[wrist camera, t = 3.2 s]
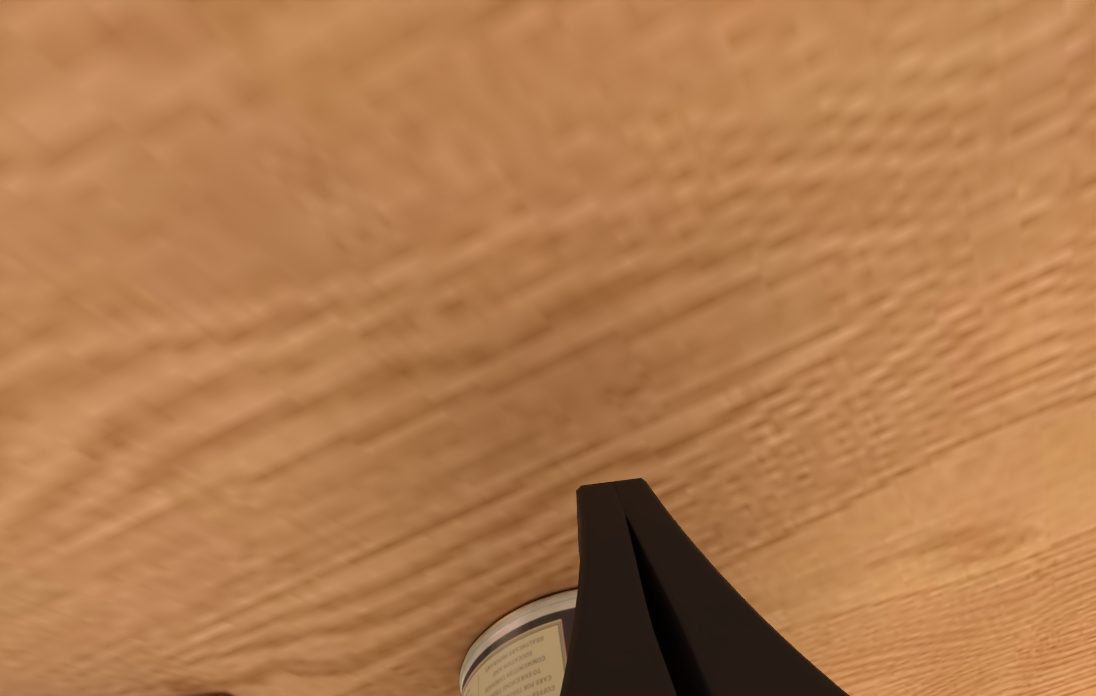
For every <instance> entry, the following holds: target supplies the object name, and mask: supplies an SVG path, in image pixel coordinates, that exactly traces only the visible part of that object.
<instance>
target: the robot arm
mask: <svg viewBox="0 0 1096 696" xmlns="http://www.w3.org/2000/svg"><path fill="white" fill-rule="evenodd" d="M576 495H577V519H578V542H579V555H580V569H579V582H578V591H577V599H576V606H575V613H574V621H573V628H572V634H571V640H570V646H569V652H568V657H567V663H566V668H565V673H564V678H563V683H562V687H561V692H560V696H849V695H848V694H847V693H846V692H844V691H843V690H842V689H841V688H839V687H838V686H837V685H836V684H835V683H834V682H832V681H831V680H830V679H829V678H828V677H827V676H826V675H824V674H823V673H822V672H821V671H820V670H819V669H818V668H816V667H815V666H814V665H813V664H812V663H811V662H810V661H808V660H807V659H806V658H805V657H804V656H803V655H802V654H801V653H800V652H798V651H797V650H796V649H795V648H794V647H793V646H792V645H791V644H790V643H789V642H788V641H786V640H785V639H784V638H783V637H782V636H781V635H780V634H779V633H778V632H777V631H776V630H775V629H774V628H773V627H772V626H771V625H770V624H768V623H767V622H766V621H765V620H764V619H763V618H762V617H761V616H760V615H759V614H758V613H757V612H756V611H755V610H754V609H753V608H752V607H751V606H750V605H749V604H748V602H747V601H746V600H745V599H744V598H743V597H742V596H741V595H740V594H739V593H738V592H737V591H736V590H735V589H734V588H733V587H732V586H731V585H730V584H729V583H728V582H727V580H726V579H725V578H724V577H723V576H722V575H721V574H720V573H719V572H718V571H717V570H716V568H715V567H714V566H713V565H712V564H711V563H710V562H709V560H708V559H707V558H706V557H705V556H704V555H703V554H702V552H701V551H700V550H699V549H698V548H697V547H696V546H695V544H694V543H693V542H692V541H691V540H690V538H689V537H688V536H687V535H686V534H685V532H684V531H683V530H682V529H681V527H680V526H679V525H678V524H677V522H676V521H675V520H674V519H673V517H672V516H671V515H670V514H669V512H668V511H667V510H666V508H665V507H664V506H663V504H662V503H661V502H660V500H659V499H658V498H657V496H656V495H655V494H654V492H653V491H652V489H651V488H650V487H649V485H648V484H647V482H646V481H644V480H643V479H642V478H637V479H629V480H622V481H614V482H606V483H598V484H591V485H583V486H581V487H580V488H579V489H577V490H576Z"/></svg>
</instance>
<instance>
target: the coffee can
mask: <svg viewBox="0 0 1096 696" xmlns="http://www.w3.org/2000/svg"><path fill="white" fill-rule="evenodd" d="M577 591H578V589H574V590H570V591H565V592H561V593H557V594H554V595H551V596H548V597H544V598H541V599H539V600H537V601H534V602H532V603H529V604H527V605H525V606H523V607H521V608H518V609H516V610H515V611H513V612H511V613H509V614H507V615H506V616H505V617H504V618H502V619H500V620H499V621H497V622H496V623H495V624H493V625H492V626H491V627H490V628H489V629H488V630H486V631H485V632H484V633H483V634H482V635H481V636H480V637H479V638H478V639H477V640H476V642H475V643H474V644H473V645H472V646H471V648H470V649H469V651H468V653H467V655H466V657H465V660H464V662H463V664H462V667H461V673H460V680H459V684H460V691H461V696H560V692H561V687H562V683H563V678H564V673H565V668H566V663H567V657H568V652H569V646H570V640H571V634H572V628H573V621H574V613H575V606H576V599H577Z"/></svg>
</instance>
